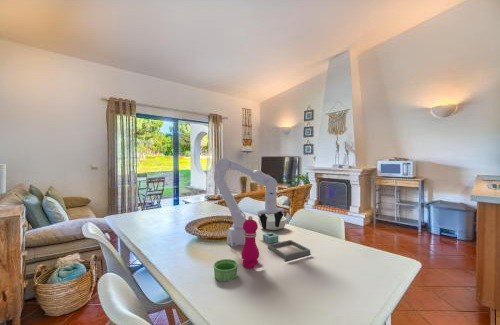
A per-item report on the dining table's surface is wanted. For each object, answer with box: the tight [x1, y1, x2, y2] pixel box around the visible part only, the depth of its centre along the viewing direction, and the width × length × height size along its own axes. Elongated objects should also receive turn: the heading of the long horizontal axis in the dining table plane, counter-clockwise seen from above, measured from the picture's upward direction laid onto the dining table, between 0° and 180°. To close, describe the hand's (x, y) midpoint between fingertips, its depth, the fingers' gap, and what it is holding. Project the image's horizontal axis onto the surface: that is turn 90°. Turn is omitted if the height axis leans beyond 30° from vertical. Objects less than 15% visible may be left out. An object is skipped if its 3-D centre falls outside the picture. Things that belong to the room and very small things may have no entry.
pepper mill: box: [240, 215, 260, 270], centre depth 93 cm, size 7×7×20 cm
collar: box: [262, 232, 279, 245], centre depth 116 cm, size 6×7×4 cm
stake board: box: [259, 232, 280, 247], centre depth 116 cm, size 8×8×5 cm
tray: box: [267, 239, 311, 263], centre depth 105 cm, size 14×14×3 cm
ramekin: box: [212, 258, 239, 282], centre depth 85 cm, size 9×9×4 cm
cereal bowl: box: [258, 214, 287, 231], centre depth 140 cm, size 17×17×7 cm
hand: (270, 228), depth 116 cm, fingers open, 7 cm apart
